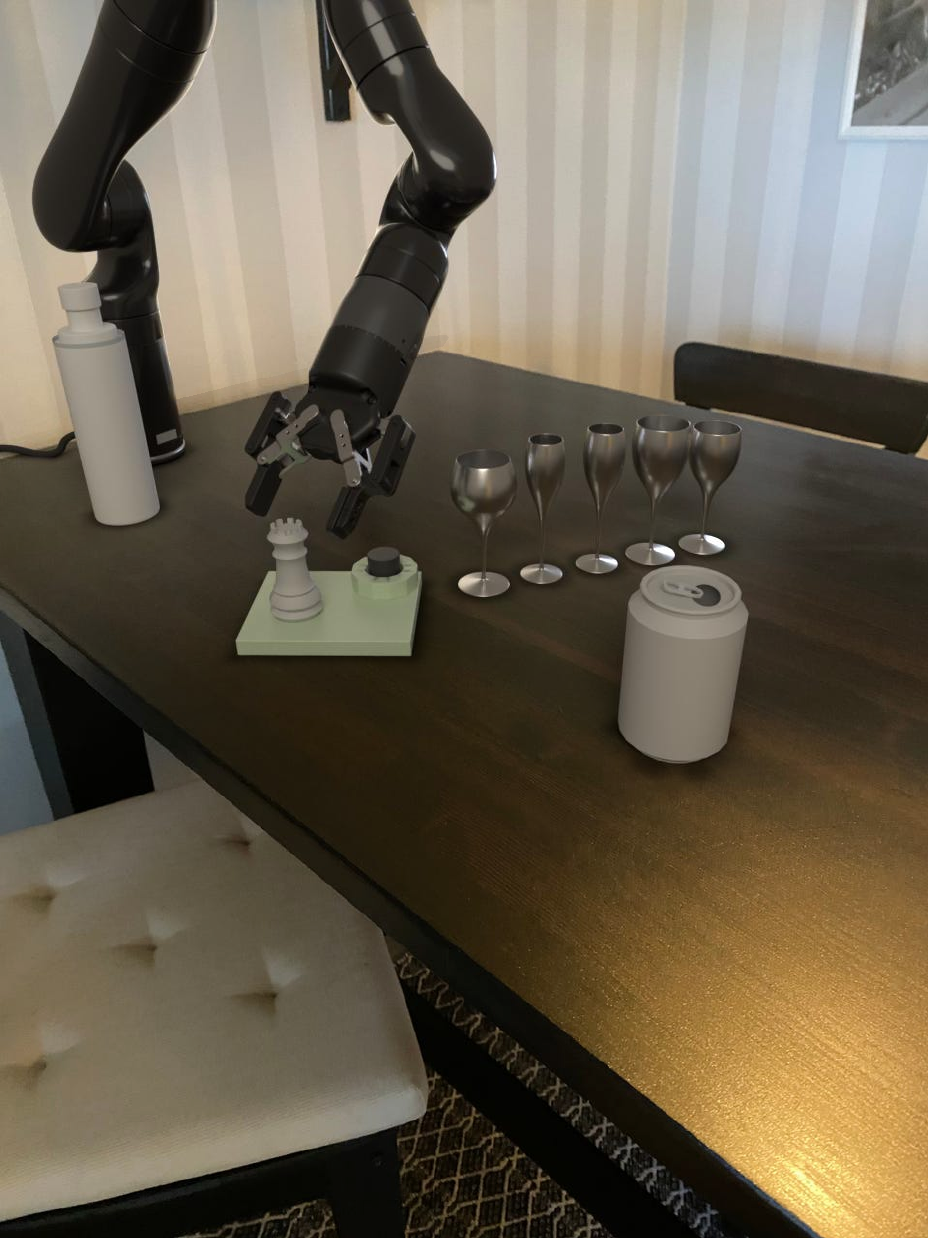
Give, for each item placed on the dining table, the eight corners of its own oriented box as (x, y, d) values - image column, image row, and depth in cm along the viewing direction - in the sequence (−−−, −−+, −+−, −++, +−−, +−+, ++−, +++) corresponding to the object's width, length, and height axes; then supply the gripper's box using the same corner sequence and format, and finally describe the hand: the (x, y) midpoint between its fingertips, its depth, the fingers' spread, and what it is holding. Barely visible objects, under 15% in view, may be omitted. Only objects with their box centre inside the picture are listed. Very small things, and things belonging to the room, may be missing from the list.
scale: (237, 655, 72) (232, 623, 71) (271, 582, 83) (266, 553, 81) (411, 656, 72) (409, 624, 70) (422, 582, 83) (421, 553, 81)
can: (729, 777, 59) (757, 620, 53) (613, 764, 60) (627, 608, 54) (724, 710, 65) (748, 562, 59) (619, 699, 66) (632, 553, 60)
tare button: (366, 579, 78) (365, 561, 77) (370, 564, 80) (369, 546, 79) (399, 579, 78) (398, 561, 77) (402, 564, 80) (401, 546, 79)
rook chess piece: (279, 630, 73) (267, 540, 69) (263, 606, 76) (250, 519, 72) (331, 616, 75) (322, 528, 71) (313, 593, 78) (303, 508, 74)
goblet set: (706, 529, 91) (723, 401, 84) (738, 553, 87) (760, 419, 80) (443, 576, 84) (439, 438, 77) (464, 605, 79) (462, 461, 72)
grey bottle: (166, 499, 100) (119, 260, 87) (151, 524, 94) (99, 273, 82) (105, 501, 100) (49, 262, 87) (87, 527, 94) (24, 274, 81)
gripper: (280, 312, 75) (200, 487, 72) (421, 332, 68) (339, 525, 66) (327, 361, 81) (255, 523, 79) (460, 383, 75) (386, 561, 72)
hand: (293, 523), depth 72 cm, fingers open, 8 cm apart
